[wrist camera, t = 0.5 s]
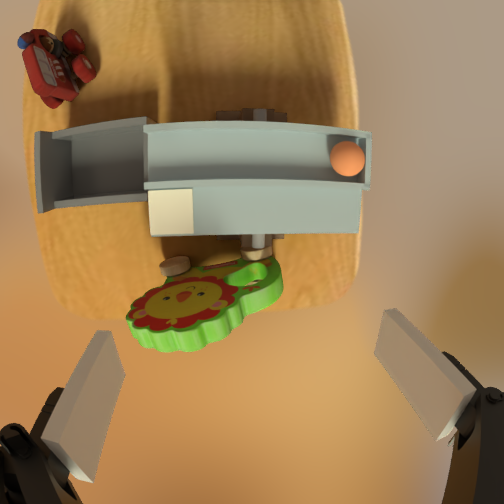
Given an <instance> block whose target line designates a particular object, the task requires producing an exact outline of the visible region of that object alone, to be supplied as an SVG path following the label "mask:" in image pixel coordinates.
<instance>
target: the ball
mask: <svg viewBox="0 0 504 504" xmlns="http://www.w3.org/2000/svg"><path fill="white" fill-rule="evenodd" d="M330 163H331V165H332V167H333V169H334V170H335V171H336V172H337V173H339V174H341V175H343V176H353V175H356V174H358V173H359V172H360V171H361V170H362V169H363V167H364V164H365V155H364V152H363V150H362V149H361V148H360V147H359V146H358V145H357V144H356V143H354V142H350V141H343V142H340V143H338V144H336V145H335V146H334V147H333V148H332V150H331V153H330Z"/></svg>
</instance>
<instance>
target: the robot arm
mask: <svg viewBox="0 0 504 504" xmlns="http://www.w3.org/2000/svg"><path fill="white" fill-rule="evenodd" d="M374 354H375V356H376V357H377V358H378V360H379V361H380V363H381V364H382V365H383V367H384V368H385V370H386V371H387V372H388V373H389V375H390V376H391V378H392V379H393V381H394V382H395V383H396V385H397V386H398V388H399V389H400V390H401V392H402V393H403V395H404V396H405V398H406V399H407V400H408V402H409V403H410V405H411V406H412V408H413V409H414V410H415V412H416V413H417V415H418V416H419V418H420V419H421V421H422V422H423V423H424V425H425V426H426V428H427V429H428V431H429V432H430V434H431V435H432V437H433V438H434V440H435V441H437V440H439V439H441V438H443V437H445V436H447V435H449V433H450V432H451V430H452V429H453V427H454V426H455V427H456V428H457V429H458V430H457V432H456V433H455V434H454V436H453V437H452V439H451V440H450V441H449V443H448V446H450V445H451V444H452V442H453V441H454V445H453V453H452V459H451V465H450V470H449V475H448V480H447V485H446V488H445V493H444V497H443V500H442V504H504V392H501V391H500V390H499V389H497V388H494V387H487V388H484V387H483V386H482V385H481V384H480V383H479V382H478V381H477V380H476V379H475V378H474V377H473V376H472V375H471V374H470V373H469V372H468V370H465V367H464V366H463V365H462V364H461V365H460V362H459V361H457V359H456V358H455V357H454V356H452V355H450V354H448V353H447V352H441V351H440V350H439V349H438V348H437V347H435V345H434V344H433V343H431V341H430V340H428V339H427V338H426V337H425V336H424V335H423V334H422V333H421V332H420V331H419V330H418V329H417V328H416V327H415V326H414V325H413V324H412V323H411V322H410V321H409V320H408V319H407V318H406V317H405V316H404V315H403V314H402V313H400V312H399V311H398V310H397V309H396V308H394V309H389V310H384V312H383V316H382V322H381V326H380V330H379V335H378V339H377V343H376V347H375V351H374ZM124 378H125V372H124V369H123V366H122V364H121V361H120V358H119V355H118V352H117V349H116V345H115V342H114V339H113V336H112V332H111V331H101V330H97V331H96V333H95V334H94V336H93V338H92V340H91V341H90V343H89V345H88V346H87V348H86V350H85V352H84V354H83V355H82V357H81V359H80V360H79V362H78V364H77V366H76V368H75V370H74V372H73V373H72V375H71V377H70V379H69V381H68V383H67V384H66V387H65V388H60V387H57V388H56V389H55V390H54V391H53V392H52V393H51V394H50V395H49V397H48V398H47V401H46V402H45V405H44V406H43V408H42V410H41V411H42V412H41V413H40V414H39V416H38V418H37V420H36V422H35V424H34V426H33V428H32V430H31V432H30V434H29V433H28V432H27V431H26V430H25V428H24V427H23V426H21V425H20V424H16V423H11V424H8V425H6V426H4V427H3V428H2V429H1V431H0V444H1V446H0V504H83V503H82V501H81V500H80V498H79V496H78V494H77V492H76V491H75V489H74V487H73V485H72V483H71V481H70V480H69V479H68V476H69V473H70V472H71V474H72V475H73V476H74V477H75V478H76V479H79V480H83V481H87V482H91V483H94V479H95V475H96V471H97V467H98V463H99V459H100V456H101V452H102V448H103V444H104V441H105V438H106V434H107V431H108V427H109V424H110V420H111V417H112V414H113V411H114V408H115V405H116V402H117V398H118V395H119V392H120V389H121V386H122V383H123V380H124Z"/></svg>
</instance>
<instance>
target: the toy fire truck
mask: <svg viewBox="0 0 504 504" xmlns="http://www.w3.org/2000/svg"><path fill="white" fill-rule="evenodd" d="M62 40H63V41H62V42H61V41H59V40H58V39H57V38H56V36H55V35H53V34H51V33H49V32H48V31H46V30H44V29H33V30H31V31H30V32H26V33H24V34H22V35H21V36H20V37H19V39H18V46H19V48H21V49H25V50H24V51H23V52H22V56H23V60H24V63H25V67H26V70H27V73H28V76H29V79H30V82H31V85H32V88H33V90H34V92H35V93H36V94H38V95H40V97H41V99H42V100H43V102H44V103H45V104H46V105H47V106H48V107H50V108H52V109H55V108H57V107H58V106H59V105H60V104H62V102H63V101H64V100H66V101H72V100H73V99H74V98H75V97H77V96H78V95H79V89H78V87H77V84H76V78H78V77H79V78H80V79H81V80H82V81H83V82H84V83H89V82H90V81H91V80H93V79H94V78H95V77H96V71H95V69H94V67H93V65H92V64H91V62H90V61H89V59H88V58H87V57H86V56H85V55H83V54H80V53H81V52H82V51H84V50H85V44H84V42H83V40H82V38H81V37H80V35H79V34H78V33H77V32H76V31H75V30H73V29H70V30H69V31H67V32H66V33H65V34H64V35H63V36H62ZM70 54H73V55H78V54H80V55H78V56H77V57H75V58H74V59H73V60H72V61H71V65H72V68H73V70H74V72H73V73H71V71H70V68H69V66H68V63H67V61H66V59H65V57H68V56H69V55H70Z"/></svg>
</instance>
